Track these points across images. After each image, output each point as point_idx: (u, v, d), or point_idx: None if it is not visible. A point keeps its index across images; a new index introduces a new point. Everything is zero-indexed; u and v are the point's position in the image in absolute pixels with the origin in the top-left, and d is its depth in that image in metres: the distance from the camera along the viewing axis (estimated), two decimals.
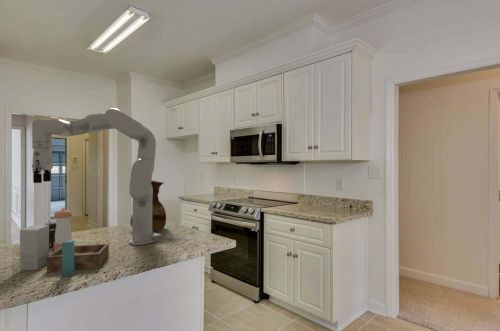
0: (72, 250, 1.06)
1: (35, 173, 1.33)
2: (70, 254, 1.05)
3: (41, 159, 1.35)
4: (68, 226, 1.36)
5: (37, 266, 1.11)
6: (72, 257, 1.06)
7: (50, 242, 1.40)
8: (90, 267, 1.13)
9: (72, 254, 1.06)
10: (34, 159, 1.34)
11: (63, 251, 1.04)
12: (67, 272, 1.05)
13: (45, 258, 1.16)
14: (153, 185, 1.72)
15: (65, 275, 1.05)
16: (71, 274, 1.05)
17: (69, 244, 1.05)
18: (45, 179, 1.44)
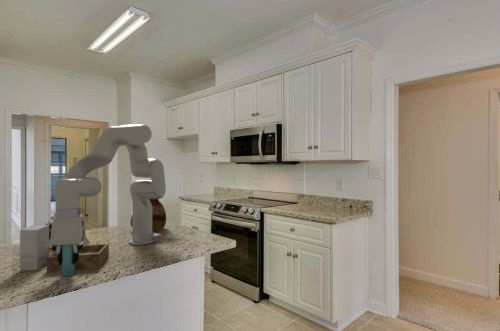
0: (72, 250, 1.06)
1: (78, 251, 1.07)
2: (70, 254, 1.05)
3: (84, 229, 1.09)
4: None
5: (37, 266, 1.11)
6: None
7: None
8: (90, 267, 1.13)
9: None
10: (82, 230, 1.06)
11: (63, 251, 1.04)
12: (67, 272, 1.05)
13: (45, 258, 1.16)
14: None
15: (65, 275, 1.05)
16: (71, 274, 1.05)
17: None
18: None
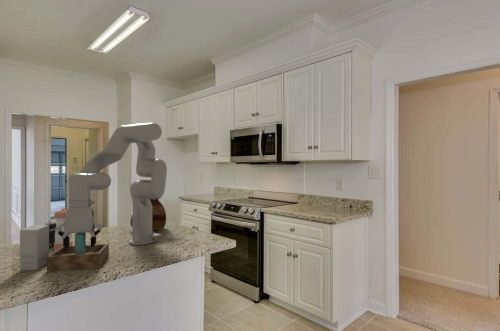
0: (84, 241, 1.18)
1: None
2: (82, 245, 1.17)
3: (94, 218, 1.21)
4: None
5: (37, 266, 1.11)
6: (84, 247, 1.18)
7: (50, 242, 1.40)
8: (90, 267, 1.13)
9: (84, 245, 1.18)
10: (92, 220, 1.18)
11: (75, 241, 1.16)
12: None
13: (45, 258, 1.16)
14: None
15: None
16: None
17: (81, 236, 1.17)
18: (67, 245, 1.17)
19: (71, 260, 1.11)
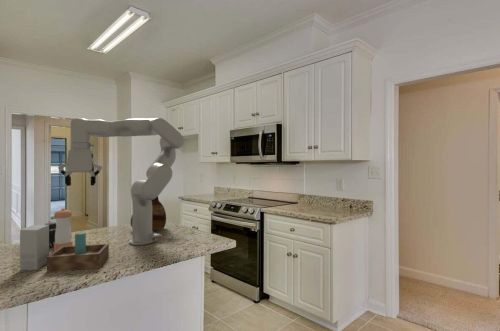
0: (84, 241, 1.18)
1: (95, 175, 1.32)
2: (82, 245, 1.17)
3: (93, 161, 1.33)
4: (68, 226, 1.36)
5: (37, 266, 1.11)
6: (84, 247, 1.18)
7: (50, 242, 1.40)
8: (90, 267, 1.13)
9: (84, 245, 1.18)
10: (91, 161, 1.30)
11: (76, 241, 1.16)
12: None
13: (45, 258, 1.16)
14: None
15: None
16: None
17: (81, 236, 1.17)
18: (69, 183, 1.29)
19: (71, 260, 1.11)
